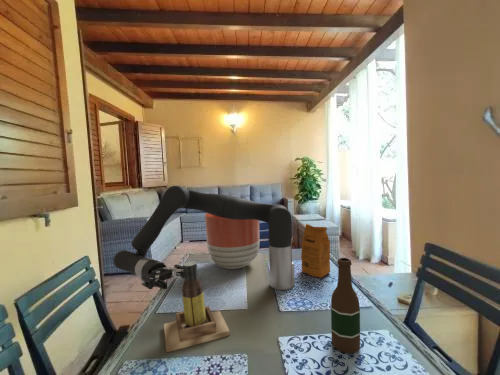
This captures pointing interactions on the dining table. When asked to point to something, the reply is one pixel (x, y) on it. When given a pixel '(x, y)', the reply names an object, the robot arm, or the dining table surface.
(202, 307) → the sauce bottle
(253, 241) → the planter
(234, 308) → the dining table surface
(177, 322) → the socket board
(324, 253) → the coffee package
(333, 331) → the beer bottle
